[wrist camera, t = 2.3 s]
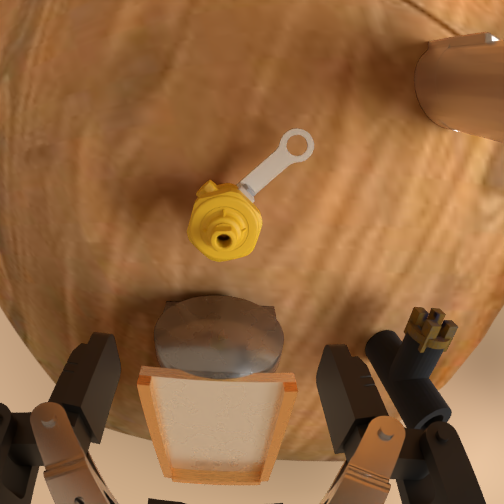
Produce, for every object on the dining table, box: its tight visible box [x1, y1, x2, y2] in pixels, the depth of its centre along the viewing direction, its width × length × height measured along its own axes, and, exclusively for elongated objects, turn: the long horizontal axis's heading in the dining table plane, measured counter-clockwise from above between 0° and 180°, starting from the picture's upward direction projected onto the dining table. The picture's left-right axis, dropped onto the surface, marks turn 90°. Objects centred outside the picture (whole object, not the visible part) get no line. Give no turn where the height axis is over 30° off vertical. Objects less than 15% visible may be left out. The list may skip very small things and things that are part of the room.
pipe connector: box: [365, 307, 458, 430], centre depth 31 cm, size 12×5×15 cm, turn 170°
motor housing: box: [137, 295, 298, 485], centre depth 31 cm, size 18×12×14 cm, turn 175°
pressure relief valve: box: [187, 128, 314, 262], centre depth 24 cm, size 6×12×10 cm, turn 132°
